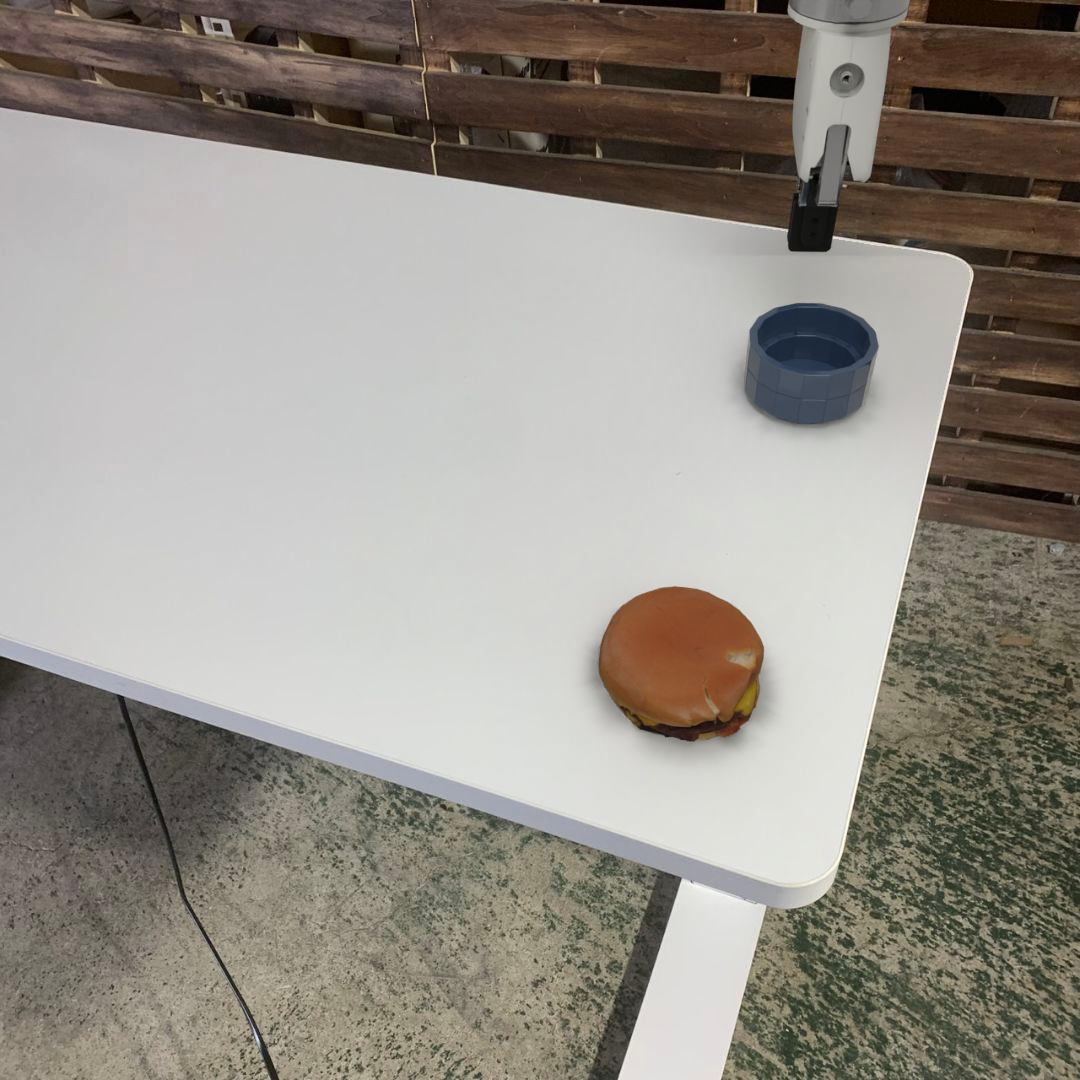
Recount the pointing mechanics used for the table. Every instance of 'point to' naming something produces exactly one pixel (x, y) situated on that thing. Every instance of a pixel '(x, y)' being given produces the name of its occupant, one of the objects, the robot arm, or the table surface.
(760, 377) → the bowl
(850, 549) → the table surface
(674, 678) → the burger
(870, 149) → the robot arm
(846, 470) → the table surface
